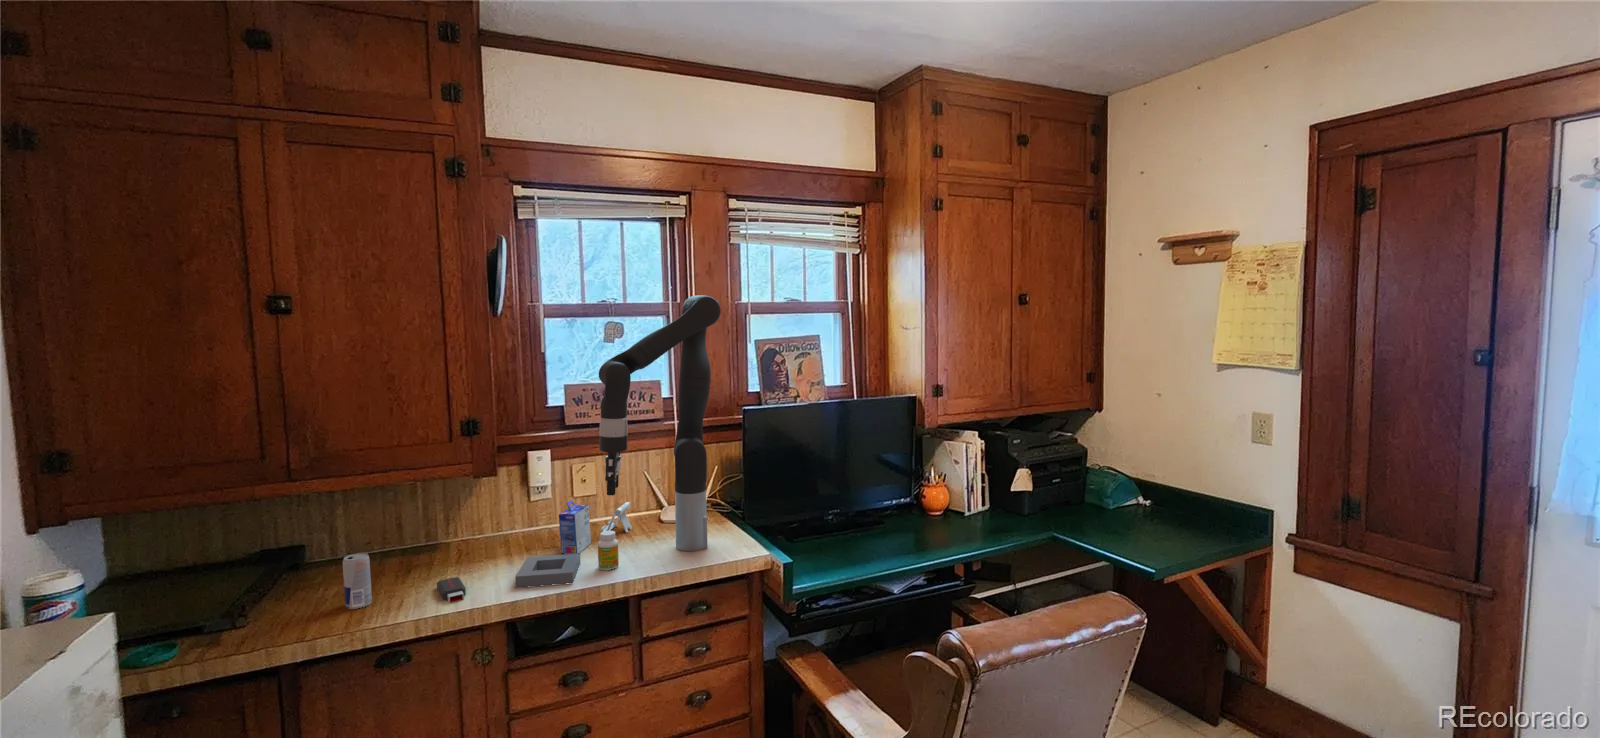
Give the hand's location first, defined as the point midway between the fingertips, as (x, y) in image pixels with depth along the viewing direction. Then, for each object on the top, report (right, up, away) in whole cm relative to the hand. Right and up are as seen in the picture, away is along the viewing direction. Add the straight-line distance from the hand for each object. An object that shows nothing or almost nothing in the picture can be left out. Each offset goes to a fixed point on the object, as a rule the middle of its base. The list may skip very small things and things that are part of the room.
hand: (612, 491), depth 184 cm
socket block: (-15, -21, -7) cm, 27 cm away
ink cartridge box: (-15, -20, +13) cm, 28 cm away
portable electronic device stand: (-7, -19, +30) cm, 36 cm away
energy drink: (-54, -23, -25) cm, 64 cm away
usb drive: (-35, -23, -18) cm, 46 cm away
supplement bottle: (-1, -21, -1) cm, 21 cm away
